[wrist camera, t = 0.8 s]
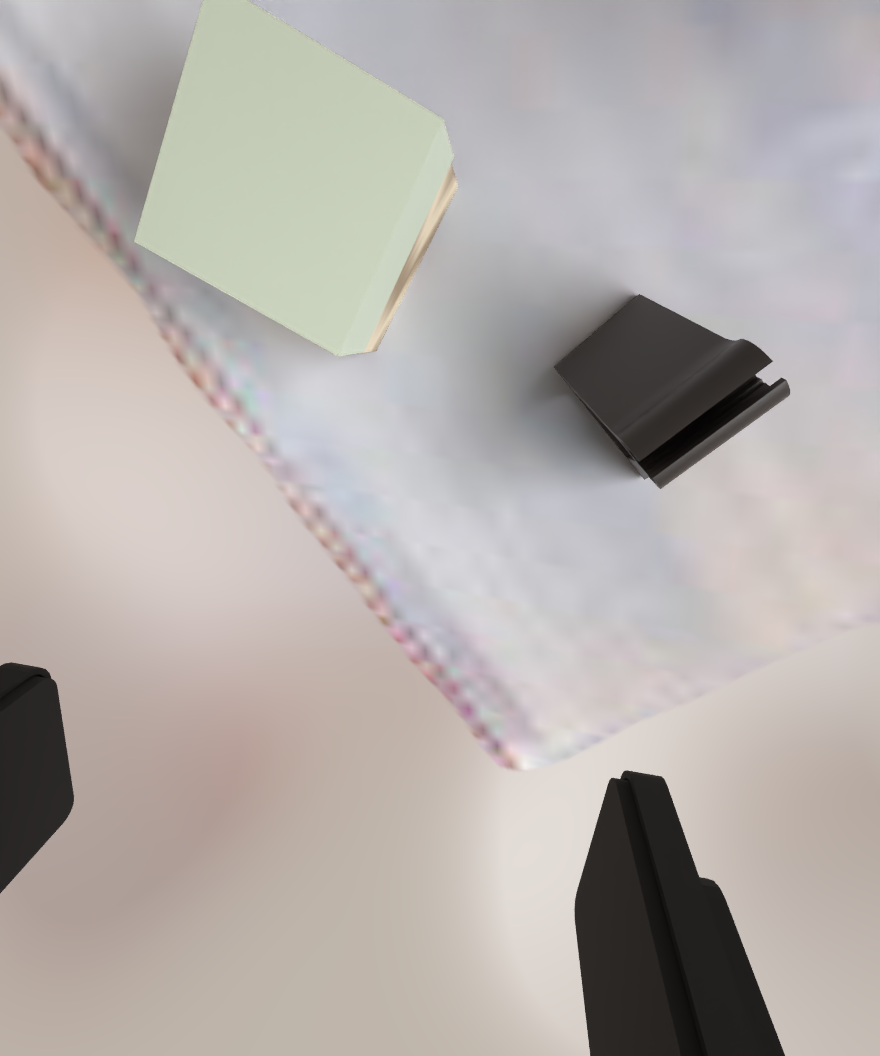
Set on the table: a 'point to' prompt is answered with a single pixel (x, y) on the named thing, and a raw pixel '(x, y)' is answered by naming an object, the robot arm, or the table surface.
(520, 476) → the table surface
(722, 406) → the phone stand
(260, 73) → the tower top
